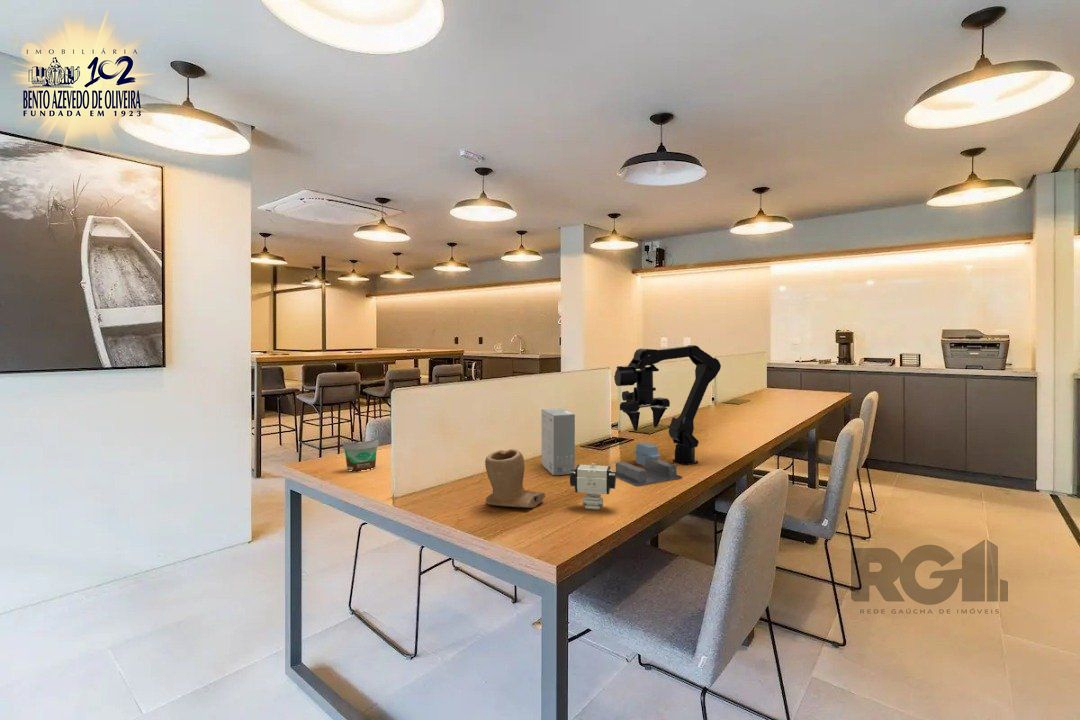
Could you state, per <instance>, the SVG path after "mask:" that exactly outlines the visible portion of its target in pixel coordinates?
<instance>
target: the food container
mask: <svg viewBox="0 0 1080 720" xmlns="http://www.w3.org/2000/svg"><path fill="white" fill-rule="evenodd" d="M379 445H380V443H379V440H378V438H377V437H375V439H374V440H366V441H365V440H362V441H357V442H351V443H349V442H343V444H342V450H343V449H344V456H345V461H346V469H347V470H352V471H361V470H367V469H371V468H374V467H375V468H376V464H377V463H376V461H377V450H378V449H377V448H378V446H379ZM375 468H374V469H375Z"/></svg>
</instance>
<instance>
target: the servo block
mask: <svg viewBox="0 0 1080 720" xmlns="http://www.w3.org/2000/svg"><path fill="white" fill-rule="evenodd" d="M632 453H635V463H636V464H638V465H641V466H643V467H645V458H651V457H653V458H655V459H658V460H659V458H662V454H659V446H658V445H655V444H651V443H648V442H639V443H636V444H635V449H633V450H632Z"/></svg>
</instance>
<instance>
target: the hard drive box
mask: <svg viewBox="0 0 1080 720" xmlns="http://www.w3.org/2000/svg"><path fill="white" fill-rule="evenodd" d="M540 414H541V465H542V466H543V467H544V468H545V469H546V470H547V471H548V472H549V474H551V475H552V476H561V475H563V476H564V475H570V472H571V470H575V468H576V462H575V461H576V460H575V459H576V455H575V454H576V450H575V449H576V448H575V446H576V445H575V443H576V442H575V441H576V440H575V438H576V434H575V433H576V432H575V428H576V427H575V423H576V420H575V419H576V414H574V413H573V412H571V411H567V410H565V409H563V408H547V409H546V408H545V409H544V408H543V409H541V413H540Z"/></svg>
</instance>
